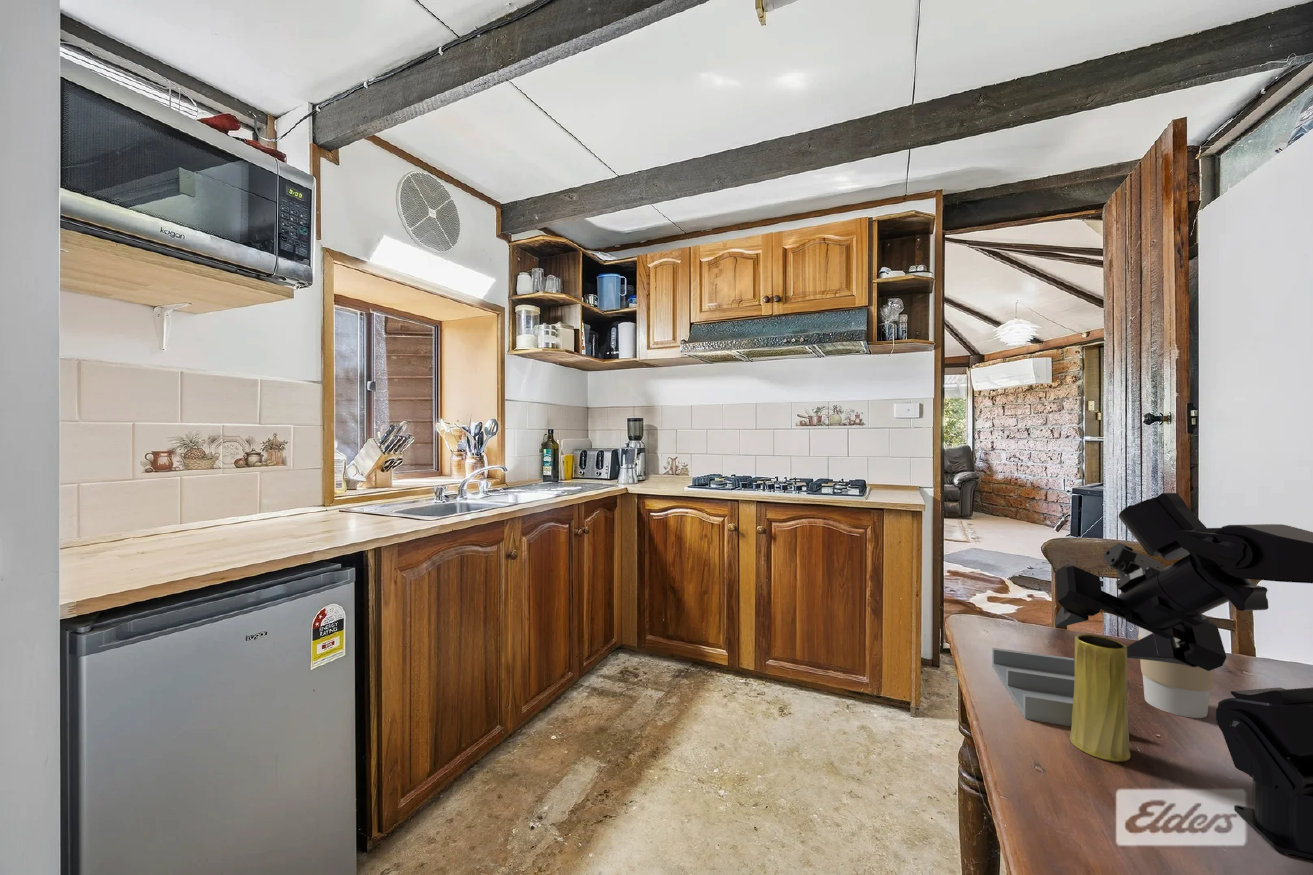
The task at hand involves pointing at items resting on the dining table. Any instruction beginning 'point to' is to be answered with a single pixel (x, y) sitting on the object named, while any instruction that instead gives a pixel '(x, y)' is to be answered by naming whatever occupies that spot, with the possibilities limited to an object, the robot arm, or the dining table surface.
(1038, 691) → the tiered shelf
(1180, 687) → the coffee cup
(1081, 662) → the vase
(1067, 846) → the dining table surface
